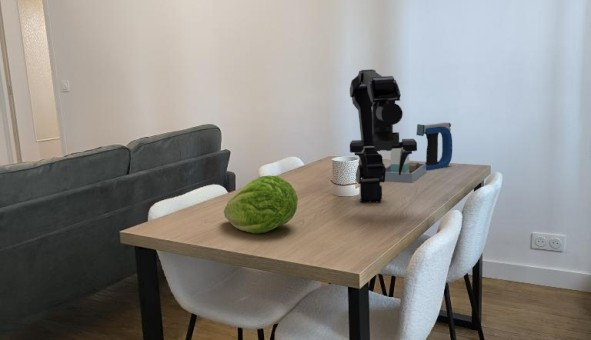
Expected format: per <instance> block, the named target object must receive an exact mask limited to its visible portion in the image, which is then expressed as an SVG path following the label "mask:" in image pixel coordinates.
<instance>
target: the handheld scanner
mask: <svg viewBox="0 0 591 340" xmlns="http://www.w3.org/2000/svg"><path fill="white" fill-rule="evenodd" d="M451 127H452V124H451V122H447V121H445V122H436V123H429V124H428V123H427V124H419V123H418V124H417V125H416V136H420V137H424V135H426V143H427V145H426V160H425V162H424V164H426V171H433V170H437V169H438V170H439V169H445V168H447V167H448V166H449V164H450V163H451V161H452V158H453V136H452V133H451V130H452V129H451ZM439 134H440V135H441V145H442V146H441V148H442V150H441V156H440V159H439V160H438V157H439V156H438V155H439V154H438V153H439Z"/></svg>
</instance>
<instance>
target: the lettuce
mask: <svg viewBox="0 0 591 340" xmlns="http://www.w3.org/2000/svg"><path fill="white" fill-rule="evenodd" d="M298 199H299V198H298V196H297V192H296V190H295V188H294V187H293V186H292V184H291V183H290V182H288V181H287V180H286V179H284V178H282V177H280V176H277V175H262V176H259V177H257V178H255V179H253V180H250V181H249V182H248V183H247V184H246V185H245V186H244V187H243V188H241V189H240V190H238V191H237V192H236V193H235V194H234V195H233V196H231V197H230V198H229V200H228V202H227V204H226V205H225V206H224V209H223V214H224V218H226V219H227V221H228V222H229V223H230V224H231V225H232V226H233V227H234V228H236V229H238V230H240V231H243V232H245V231H246V233H250V232H251V234H255V233H257V234H263V233H267V232H270V231H271V230H274V229H275V228H278V227H281V226H283V225H286V224H287V223H288V222H290V221H291V220H292V219H293V217H294V216H295V213H296V212H297V208H298Z"/></svg>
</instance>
